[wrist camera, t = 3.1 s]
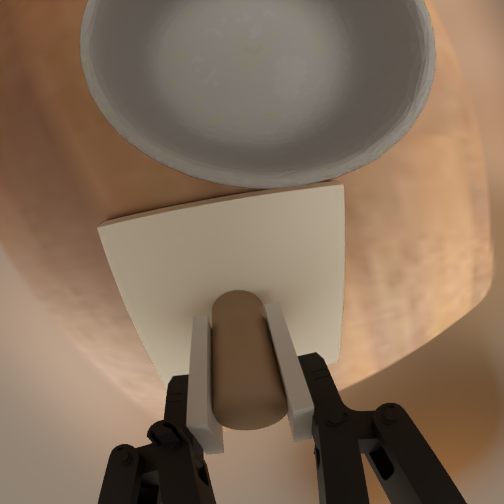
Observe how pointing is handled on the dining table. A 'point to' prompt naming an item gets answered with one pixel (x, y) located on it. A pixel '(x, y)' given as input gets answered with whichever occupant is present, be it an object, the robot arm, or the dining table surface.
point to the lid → (235, 287)
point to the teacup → (259, 83)
